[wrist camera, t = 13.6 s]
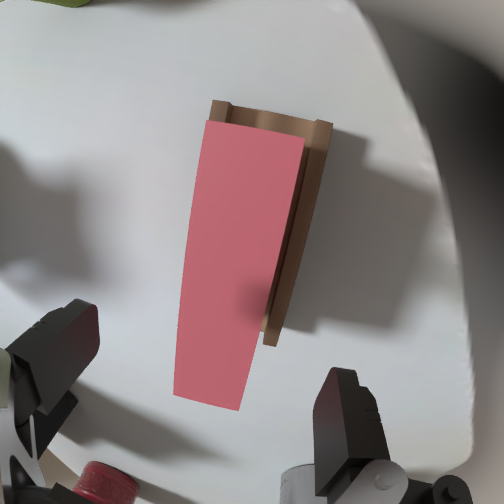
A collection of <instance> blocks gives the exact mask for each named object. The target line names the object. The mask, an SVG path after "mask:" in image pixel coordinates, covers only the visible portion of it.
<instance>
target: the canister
mask: <svg viewBox="0 0 504 504" xmlns="http://www.w3.org/2000/svg"><path fill="white" fill-rule="evenodd" d="M73 492H75V493H77V494H79V495H81V496H83V497H85V498H87V499H89V500H91V501H92V502H94V503H95V504H134V502H135V499H136V498H137V497H138V494H139V486H138V485H137V484H136V483H135V482H134V481H133V480H132V479H131V478H130V477H128V476H127V475H125V474H124V473H122V472H120V471H118V470H116V469H115V468H112V467H110V466H108V465H105V464H102V463H99V462H89V463H88V464H87V465H86V466H85V467H84V469H83V473H82V474H81V476H80V478H79V480H78V482H77V484H76V485H75V487H74V488H73Z"/></svg>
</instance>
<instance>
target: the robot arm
mask: <svg viewBox="0 0 504 504" xmlns="http://www.w3.org/2000/svg"><path fill="white" fill-rule="evenodd" d="M99 345H100V336H99V323H98V310H97V307H96V305H94V304H91V303H88V302H86V301H83V300H80V299H74V300H73V301H72V302H70V303H69V304H68V305H67V306H66V307H64V308H62V307H61V308H58V309H56V310H53V311H51V312H49V313H47V314H46V315H45V316H44V317H43V318H41V319H40V321H38V322H36V323H35V324H34V325H33V326H32V328H31V327H30V328H29V329H28V330H27V331H26V332H24V333H23V334H22V335H21V336H20V337H19V338H17V339H16V340H15V341H14V342H13V343H12V344H10V345H9V346H8V347H7V348H6V349H5V350H4V349H2V348H0V504H95V503H94V502H92V501H91V500H89V499H87V498H85V497H83V496H81V495H79V494H77V493H75V492H73V491H71V490H69V489H67V488H65V487H64V486H62V485H60V484H58V483H56V484H55V485H54V487H53V488H52V489H50V488H46V485H45V482H44V479H43V476H42V474H41V471H40V469H39V465H38V460H37V452H36V443H35V432H34V419H33V416H32V414H33V412H34V411H35V410H36V409H37V410H39V411H40V412H42V413H44V414H45V415H47V416H48V414H49V413H50V412H51V411H52V409H53V408H54V407H55V405H56V404H57V403H58V402H59V400H60V399H61V398H62V397H63V395H64V394H65V393H66V392H67V390H68V389H69V388H70V387H71V385H72V384H73V383H74V382H75V380H76V379H77V378H78V377H79V376H80V374H81V373H82V372H83V371H84V369H85V368H86V367H87V366H88V365H89V363H90V362H91V361H92V360H93V359H94V357H95V356H96V354H97V352H98V349H99ZM313 433H314V465H304V466H299V467H295V468H292V469H290V470H288V471H286V472H285V473H284V474H283V475H282V477H281V488H280V489H281V492H280V504H473V502H472V498H471V494H470V491H469V488H468V486H467V484H466V483H465V482H464V481H463V480H462V479H461V478H459V477H457V476H454V475H445V476H443V477H441V478H439V479H438V480H437V481H436V482H435V483H433V484H430V483H425V482H421V481H416V480H412V479H409V478H408V477H407V475H406V473H405V471H404V470H403V468H402V467H401V466H399V465H398V464H397V463H395V462H393V461H391V459H390V455H389V451H388V447H387V442H386V438H385V434H384V430H383V426H382V423H381V418H380V415H379V413H378V407H377V403H376V400H375V398H374V396H373V395H372V394H371V392H370V391H369V390H368V388H367V387H363V386H360V385H359V381H358V377H357V373H356V371H355V370H350V369H344V368H337V367H332V368H331V369H330V371H329V373H328V375H327V378H326V380H325V382H324V384H323V386H322V388H321V390H320V392H319V394H318V396H317V398H316V401H315V404H314V409H313Z"/></svg>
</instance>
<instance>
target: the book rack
mask: <svg viewBox="0 0 504 504" xmlns="http://www.w3.org/2000/svg"><path fill="white" fill-rule="evenodd" d="M209 120H210V121H217V122H223V123H230V124H236V125H242V126H247V127H253V128H258V129H263V130H269V131H274V132H278V133H283V134H288V135H292V136H297V137H301V138H305V142H304V147H303V151H302V156H301V160H300V165H299V169H298V174H297V179H296V183H295V187H294V192H293V196H292V201H291V205H290V209H289V214H288V218H287V222H286V227H285V231H284V235H283V239H282V244H281V248H280V252H279V256H278V260H277V265H276V269H275V273H274V277H273V281H272V285H271V289H270V293H269V297H268V301H267V305H266V309H265V313H264V317H263V321H262V325H261V329H260V331H262V332H264V338H263V344H264V345H269V346H274V347H276V345H277V342H278V339H279V335H280V332H281V329H282V325H283V322H284V318H285V315H286V311H287V308H288V305H289V301H290V298H291V294H292V290H293V287H294V283H295V280H296V276H297V272H298V269H299V265H300V261H301V257H302V254H303V250H304V246H305V242H306V238H307V234H308V231H309V227H310V223H311V219H312V215H313V211H314V207H315V202H316V198H317V194H318V190H319V186H320V181H321V177H322V173H323V168H324V164H325V160H326V155H327V151H328V146H329V141H330V137H331V132H332V127H333V123H330V122H326V121H322V120H318V119H317V120H316V121H310V120H306V119H301V118H297V117H292V116H288V115H283V114H278V113H273V112H268V111H262V110H257V109H251V108H245V107H239V106H233V105H232V104H231V103H230V102H225V101H218V100H213V102H212V107H211V112H210V117H209Z"/></svg>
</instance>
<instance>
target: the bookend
mask: <svg viewBox="0 0 504 504" xmlns="http://www.w3.org/2000/svg"><path fill="white" fill-rule="evenodd" d="M77 403H78V401H77V400H76V399H75V398H74V397H73V396H72V395H71V394H70V393H69V392H68V391H67V392H66V393H65V394H64V395H63V397H62V398H61V399H60V400H59V402H58V403H57V404H56V405H55V407H54V408H53V409H52V411H51V412H50V413H49V414H48V416H47V415H45V414H44V413H42V412H40V411H39V410H37V409H36V410H35V411H34V412H33V414H32V416H33V419H34V432H35V443H36V452H37V460H39V458H40V457H41V455H42V454H43V452H44V451H45V449H46V448H47V446H48V445H49V443H50V442H51V440H52V439H53V437H54V436H55V434H56V433H57V431H58V430H59V428H60V427H61V426H62V424H63V423H64V421H65V420H66V418H67V417H68V415H69V414H70V413H71V411H72V410H73V408H74V407H75V406H76V404H77Z"/></svg>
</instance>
